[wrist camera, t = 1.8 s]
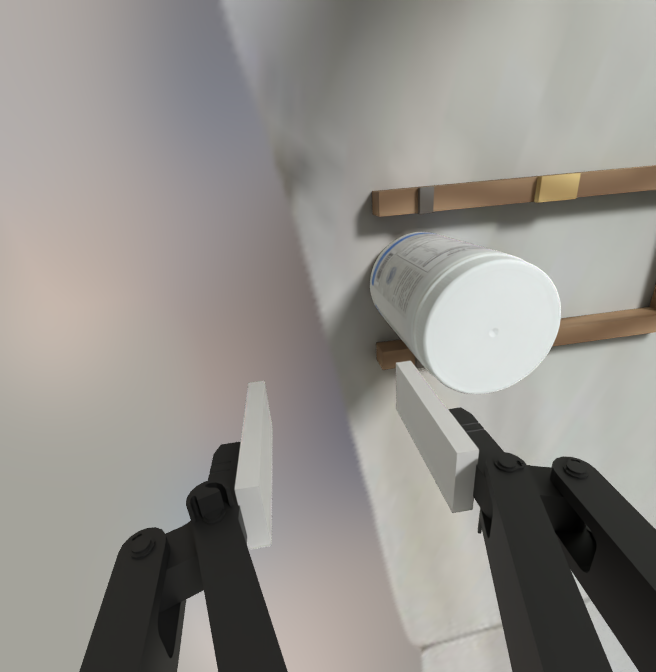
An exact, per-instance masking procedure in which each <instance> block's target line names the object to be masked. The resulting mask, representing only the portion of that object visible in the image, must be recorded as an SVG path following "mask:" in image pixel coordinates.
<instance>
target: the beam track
mask: <svg viewBox="0 0 656 672" xmlns="http://www.w3.org/2000/svg"><path fill="white" fill-rule="evenodd" d="M647 190H656V165H654V166H643V167H632V168H621V169H610V170H599V171H588V172H577V173H566V174H555V175H544V176H533V177H522V178H511V179H500V180H489V181H478V182H467V183H456V184H445V185H434V186H423V187H412V188H401V189H391V190H380V191H372V211H373V215H376V216H379V217H382V216H392V215H402V214H412V213H418V214H425V213H433V211H443V210H453V209H463V208H474V207H484V206H494V205H504V204H514V203H525V202H549V201H559V200H569V199H576V197H586V196H596V195H606V194H616V193H627V192H637V191H647ZM653 332H656V285H655V288H654V292H653V295H652V299H651V302H650V306H649V307H645V308H638V309H630V310H622V311H615V312H607V313H599V314H592V315H584V316H577V317H569V318H561V320H560V326H559V330H558V333H557V336H556V339H555V341H554V343H553V345H552V346H559V345H566V344H573V343H581V342H588V341H595V340H602V339H610V338H617V337H624V336H631V335H638V334H646V333H653ZM376 348H377V361H378V362H379V364H380V366H381V368H382V369H383V370H386V369H393V368H396V363H397V362H405V361H411V362H412V363H413V364H414V366H415V367H416V368H421V367H424V366H423V365H422V364H421V363H420V361H419V360H418V359H417V358H416V357H415V355H414V354H413V353H412V352H411V351H410V349H409V348H408V347H407V346H406V344H405V343H404V342H403V341H402V340H393V341H386V342H378V343H376Z"/></svg>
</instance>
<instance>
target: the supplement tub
mask: <svg viewBox="0 0 656 672" xmlns="http://www.w3.org/2000/svg"><path fill="white" fill-rule="evenodd" d="M370 292H371V297H372V300H373V302H374V304H375V306H376V308H377V310H378V311H379V312H380V314H381V315H382V316H383V318H384V319H385V320H386V321H387V323H388V324H389V325H390V326H391V327H392V329H393V330H394V331H395V332H396V333H397V335H398V336H399V337H400V338H401V340H402V341H403V342H404V343H405V344H406V346H407V347H408V348H409V349H410V351H411V352H412V353H413V354H414V355H415V357H416V358H417V359H418V360H419V361H420V363H421V364H422V365H423V366H424V367H425V369H426V370H427V371H428V372H429V373H430V374H432V375H433V376H434V377H435V378H437V379H438V380H439V381H440V382H441V383H442V384H444V385H445V386H447V387H448V388H451V389H453V390H455V391H458V392H461V393H466V394H487V393H493V392H496V391H500V390H503V389H505V388H508V387H510V386H512V385H514V384H516V383H517V382H519V381H521V380H522V379H523V378H525V377H526V376H528V375H529V374H530V373H531V372H532V371H533V370H534V369H535V368H536V367H537V366H538V365H539V364H540V363H541V362H542V361H543V360H544V358H545V357H546V355H547V354H548V352H549V351H550V349H551V347H552V345H553V343H554V341H555V339H556V336H557V333H558V330H559V326H560V320H561V304H560V298H559V295H558V292H557V289H556V287H555V285H554V284H553V282H552V280H551V279H550V278H549V277H548V276H547V274H546V273H544V272H543V271H542V270H541V269H539V268H538V267H536V266H534V265H533V264H530V263H528V262H526V261H524V260H522V259H520V258H518V257H516V256H513V255H509V254H506V253H503V252H500V251H496V250H493V249H489V248H485V247H482V246H478V245H475V244H471V243H468V242H464V241H460V240H456V239H453V238H449V237H446V236H442V235H438V234H434V233H430V232H414V233H410V234H407V235H404V236H402V237H400V238H398V239H396V240H395V241H393V242H392V243H390V244H389V245H388V246H387V247H386V248H385V249H384V250H383V251H382V252H381V254H380V255H379V257H378V258H377V260H376V262H375V264H374V266H373V269H372V273H371V278H370Z"/></svg>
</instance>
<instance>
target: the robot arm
mask: <svg viewBox="0 0 656 672" xmlns="http://www.w3.org/2000/svg"><path fill="white" fill-rule="evenodd" d="M396 409H397V411H398V413H399V415H400V417H401V419H402V421H403V422H404V424H405V426H406V428H407V430H408V432H409V434H410V435H411V437H412V439H413V441H414V443H415V445H416V447H417V448H418V450H419V452H420V454H421V456H422V458H423V460H424V461H425V463H426V465H427V467H428V469H429V471H430V472H431V474H432V476H433V478H434V480H435V482H436V484H437V485H438V487H439V489H440V491H441V493H442V495H443V497H444V498H445V500H446V502H447V504H448V506H449V508H450V510H451V511H452V513H456V512H462V511H467V510H473V501H474V498H475V500H476V501H477V503H478V505H479V506H480V515H479V523H478V533H481V530H482V531H483V536H484V541H485V545H486V550H487V555H488V559H489V564H490V569H491V573H492V578H493V583H494V587H495V592H496V597H497V601H498V606H499V611H500V615H501V620H502V625H503V629H504V634H505V639H506V643H507V648H508V653H509V658H510V662H511V667H512V672H613V671H612V669H611V666H610V664H609V662H608V659H607V657H606V654H605V652H604V649H603V647H602V645H601V642H600V640H599V637H598V635H597V633H596V630H595V628H594V625H593V623H592V621H591V618H590V616H589V613H588V611H587V608H586V606H585V604H584V601H583V599H582V596H581V594H580V592H579V589H578V587H577V584H576V582H575V579H574V577H573V575H572V572H573V574H574V575H575V577H576V578H577V580H578V581H579V583H580V584H581V586H582V587H583V589H584V590H585V592H586V593H587V595H588V596H589V598H590V599H591V601H592V602H593V604H594V605H595V606H596V608H597V609H598V611H599V612H600V614H601V615H602V617H603V618H604V620H605V621H606V623H607V624H608V626H609V627H610V629H611V630H612V632H613V633H614V635H615V636H616V638H617V639H618V641H619V642H620V644H621V645H622V647H623V648H624V650H625V651H626V653H627V654H628V656H629V657H630V659H631V660H632V662H633V663H634V665H635V666H636V668H637V669H638V671H639V672H656V529H655V528H654V527H653V526H652V525H651V524H650V523H649V522H648V521H647V520H646V519H645V518H644V517H643V516H642V515H641V514H640V513H639V512H638V511H637V510H636V509H635V508H634V507H633V506H632V505H631V504H630V503H629V502H628V501H627V500H626V499H625V498H624V497H623V496H622V495H621V494H620V493H619V492H618V491H617V490H616V489H615V488H614V487H613V486H612V485H611V484H610V483H609V482H608V481H607V480H606V479H605V478H604V477H603V476H602V475H601V474H600V473H599V472H598V471H597V470H596V469H595V468H594V467H592V466H591V465H590V464H589V463H587V462H584V461H582V460H580V459H577V458H573V457H560V458H556V459H555V460H554V461H553V464H552V468H550V467H538V466H530V465H526V463H525V462H524V461H523V460H522V459H520V458H519V457H518V456H515V455H513V454H511V453H506V452H504V451H503V450H502V449H501V448H500V447H499V446H498V444H497V443H496V442H495V441H494V440H493V439H492V437H491V436H490V435H489V434H488V433H487V431H486V430H484V428H483V427H482V426H481V424H480V423H478V421H477V420H476V419H475V417H474V416H473V415H472V414H471V413H469V412H468V411H466V410H464V409H463V408H454V409H447V407H446V406H445V405H444V403H443V402H442V401H441V399H440V398H439V397H438V396H437V394H436V393H435V392H434V390H433V389H432V388H431V386H430V385H429V384H428V383H427V381H426V380H425V379H424V377H423V376H422V375H421V373H420V372H419V371H418V370H417V368H416V367H415V366H414V364H413V363H412V362H411V361H405V362H397V363H396ZM272 428H273V427H272V421H271V415H270V410H269V404H268V398H267V392H266V387H265V381H259V382H252V383H248V391H247V399H246V406H245V414H244V421H243V429H242V436H241V442H235V443H229V444H222V445H220V447H219V448H218V449H217V451H216V452H215V453H214V456H213V460H212V466H211V469H210V475H209V478H208V481H206V482H203V483H201V484H200V485H198V486H196V487H195V488H194V489H193V490H192V491H191V492H190V494H189V495H188V497H187V500H186V506H187V509H188V512H189V515H190V519H191V521H190V522H188V523H187V524H185V525H184V526H182V527H180V528H178V529H175V530H173V531H171V532H169V533H166V534H165V533H164V532H163V530H162V529H159V528H156V527H155V528H147V529H144V530H141V531H139V532H137V533H135V534H134V535H133V536H131V537H130V538H129V539H128V540H127V541H126V542H125V543H124V544H123V545H122V547H121V549H120V551H119V553H118V556H117V559H116V562H115V565H114V568H113V571H112V574H111V577H110V580H109V583H108V587H107V589H106V592H105V595H104V598H103V601H102V604H101V608H100V611H99V614H98V617H97V620H96V623H95V626H94V629H93V632H92V635H91V638H90V641H89V644H88V647H87V650H86V653H85V656H84V659H83V662H82V665H81V668H80V672H177V668H178V660H179V652H180V644H181V636H182V628H183V620H184V613H185V605H186V599H187V598H190V597H191V596H193V595H195V594H197V593H199V592H201V591H203V590H204V593H205V599H206V605H207V610H208V616H209V622H210V627H211V633H212V638H213V644H214V650H215V656H216V661H217V667H218V672H288V671H287V668H286V665H285V662H284V659H283V656H282V653H281V650H280V647H279V644H278V640H277V637H276V634H275V631H274V628H273V625H272V622H271V619H270V616H269V613H268V609H267V606H266V603H265V600H264V597H263V594H262V591H261V588H260V585H259V582H258V578H257V575H256V572H255V569H254V566H253V563H252V560H251V557H250V554H249V551H248V548H247V543H248V547H249V549H255V548H261V547H267V546H271V545H272V542H271V541H272V540H271V539H272V537H271V536H272V430H273V429H272ZM570 569H571V570H570ZM571 571H572V572H571Z"/></svg>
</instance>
